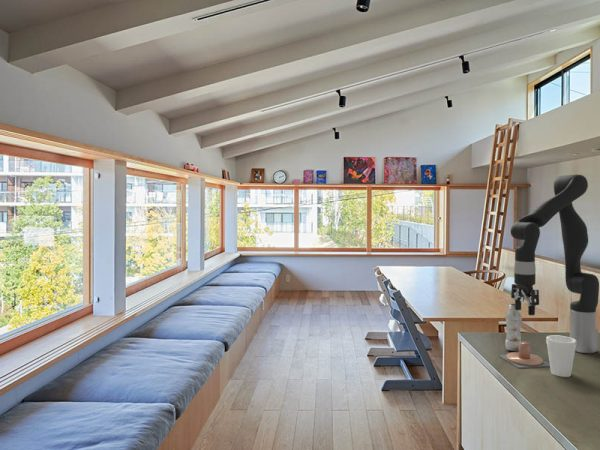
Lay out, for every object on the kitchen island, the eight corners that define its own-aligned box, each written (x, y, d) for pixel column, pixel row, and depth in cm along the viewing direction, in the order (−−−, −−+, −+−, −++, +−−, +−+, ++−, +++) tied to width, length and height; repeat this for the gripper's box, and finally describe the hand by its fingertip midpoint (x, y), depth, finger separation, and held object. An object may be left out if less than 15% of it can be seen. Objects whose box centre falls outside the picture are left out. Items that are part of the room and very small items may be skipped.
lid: (529, 353, 181) (529, 337, 180) (550, 364, 168) (550, 347, 168) (499, 355, 179) (500, 338, 179) (519, 366, 166) (519, 349, 166)
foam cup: (578, 380, 154) (578, 344, 154) (549, 376, 157) (549, 341, 157) (572, 370, 163) (572, 336, 163) (544, 367, 166) (544, 334, 166)
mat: (529, 354, 181) (529, 353, 181) (552, 366, 167) (552, 365, 167) (498, 355, 180) (498, 354, 180) (518, 368, 166) (518, 367, 166)
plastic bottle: (518, 348, 189) (518, 302, 188) (524, 353, 182) (524, 306, 181) (502, 347, 190) (502, 302, 189) (508, 353, 183) (508, 306, 182)
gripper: (545, 274, 165) (545, 316, 166) (522, 269, 180) (522, 308, 180) (527, 275, 165) (527, 317, 165) (505, 270, 179) (505, 308, 179)
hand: (524, 312), depth 173 cm, fingers open, 8 cm apart
